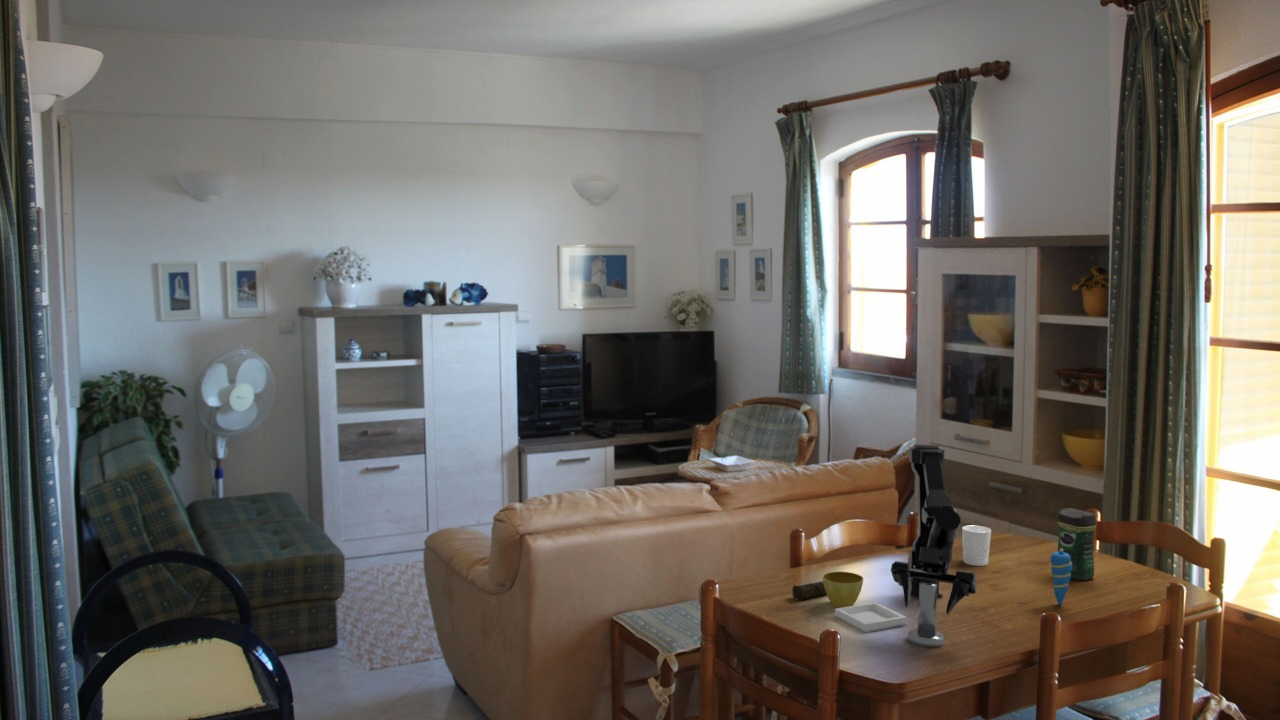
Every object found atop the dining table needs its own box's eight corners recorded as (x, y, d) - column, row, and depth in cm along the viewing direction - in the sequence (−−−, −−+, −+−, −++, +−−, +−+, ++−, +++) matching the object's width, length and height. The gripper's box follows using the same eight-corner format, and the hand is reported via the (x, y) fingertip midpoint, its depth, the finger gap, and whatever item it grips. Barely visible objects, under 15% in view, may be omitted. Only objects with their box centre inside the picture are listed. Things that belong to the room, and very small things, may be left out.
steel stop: (928, 632, 241) (929, 576, 240) (952, 644, 234) (954, 586, 233) (900, 637, 238) (902, 580, 237) (924, 649, 231) (926, 590, 230)
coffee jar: (1099, 578, 283) (1102, 512, 281) (1079, 582, 279) (1082, 515, 278) (1069, 569, 292) (1072, 504, 290) (1050, 573, 288) (1052, 507, 286)
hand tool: (800, 603, 263) (801, 585, 262) (791, 598, 266) (791, 581, 266) (859, 592, 271) (859, 575, 271) (849, 588, 275) (850, 571, 274)
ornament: (1060, 609, 258) (1063, 550, 256) (1043, 603, 262) (1046, 545, 261) (1074, 606, 260) (1077, 548, 259) (1058, 600, 265) (1060, 543, 263)
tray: (874, 609, 257) (874, 602, 257) (906, 625, 246) (906, 617, 246) (834, 616, 252) (834, 608, 252) (865, 632, 241) (865, 624, 241)
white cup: (959, 558, 302) (960, 524, 301) (987, 559, 301) (988, 525, 300) (963, 566, 294) (964, 531, 293) (992, 567, 293) (993, 532, 292)
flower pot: (819, 598, 266) (819, 570, 265) (858, 598, 266) (859, 571, 265) (825, 611, 256) (825, 583, 255) (866, 611, 256) (866, 583, 255)
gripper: (893, 527, 242) (879, 586, 234) (976, 537, 233) (964, 599, 225) (901, 552, 250) (888, 609, 241) (981, 563, 241) (970, 623, 232)
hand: (926, 609), depth 235 cm, fingers open, 9 cm apart
